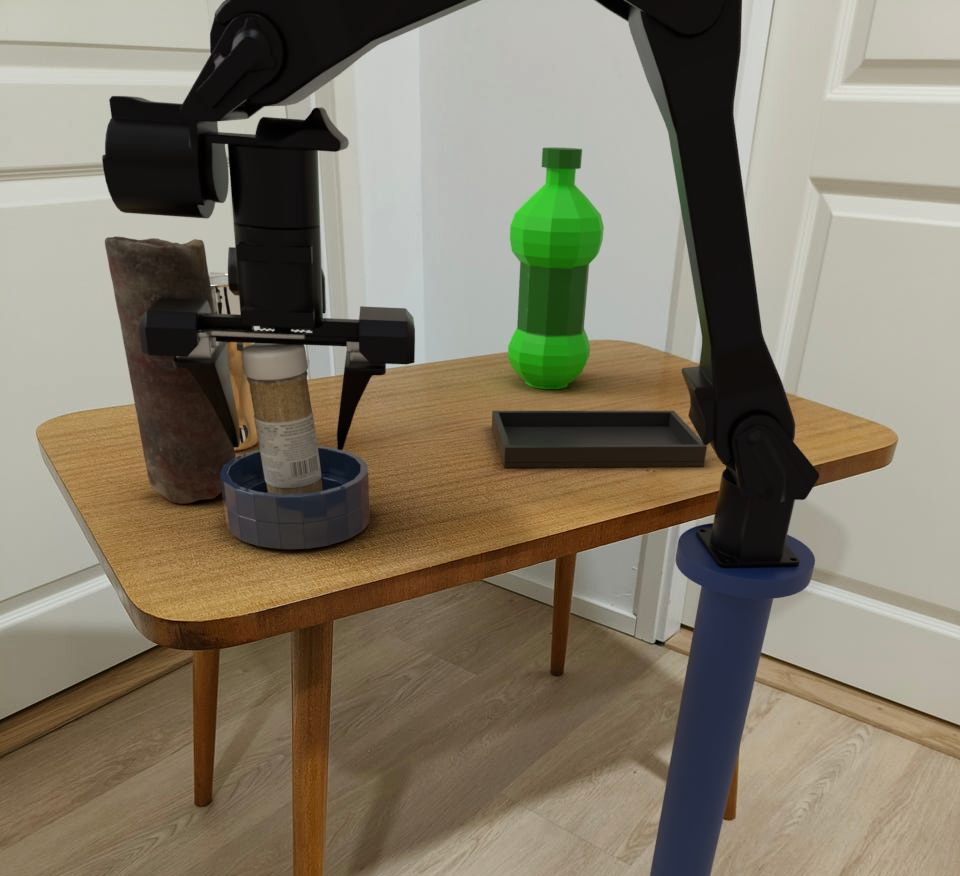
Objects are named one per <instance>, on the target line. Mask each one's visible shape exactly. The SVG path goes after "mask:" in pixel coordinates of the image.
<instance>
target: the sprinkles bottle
mask: <svg viewBox="0 0 960 876" xmlns="http://www.w3.org/2000/svg"><path fill="white" fill-rule="evenodd" d="M305 346H306V345H295V344H268V343H253V344H250V345H248V346H246V347H244V348H243V350H242V361H243V367H244V373H245V375H246V376H247V381H248V382H249V385H250V397H251V405H252V408H253V409H252V410H253V412H254V413H253V419H254V422H255V425H256V431H257V437H258V442H257V443H258V447H259V450H260V454H261V460H262V466H263V472H264V477H265V481H266V484H267V489H268V493H273V494H304V493H312V492H319V491H323V488H322V479H321V468H320V461H319V454H318V446H319V445H318V439H317V433H316V432H317V431H316V425H315V418H314V413H313V408H312V401H311V395H310V389H309V383H308V373H309V372H308V369H309V365H308V357H307V351H306V347H305Z"/></svg>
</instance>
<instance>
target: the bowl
mask: <svg viewBox="0 0 960 876" xmlns="http://www.w3.org/2000/svg"><path fill="white" fill-rule="evenodd" d="M317 446H318V454H319V461H320V468H321V479H322V488H323V491H319V492H312V493H304V494H273V493H268V489H267V484H266V481H265V477H264V472H263V466H262V460H261V454H260V449H255V450H251V451H247V452H245V453H243V454H240V455H237V456H235V458H233V459H232V460H230V461H229V462H228V463H226V464H225V465H224V466H223V468H222V470H221V473H220V480H221V488H222V492H221V495H222V502H223V510H224V518H225V525H226V527H227V529H228V531H229V533H230V534H231V535H232V536H234V537H236V538H237V539H238V540H240V541H242V542H244V543H246V544H251V545H254V546H257V547H261V548H267V549H268V548H269V549H277V550H309V549H315V548H323V547H328V546H332V545H334V544H337V543H341V542H344V541H348V540H350V539H352V538H353V537H355V536H357V535H358V534H360V533H362V532H363V531H364V530H365V528H366V527H368V525H369V524H370V523H371V504H370V502H371V501H370V477H369V474H370V473H369V465H368V463H367V462H366V461H365V460H364V459H363V457H361V456H359V455H357V454H355V453H353V452H351V451H348V450H345V449H343V450H338V449H337V448H336V447H333V446H324V445H317Z"/></svg>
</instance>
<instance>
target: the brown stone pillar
mask: <svg viewBox="0 0 960 876" xmlns="http://www.w3.org/2000/svg"><path fill="white" fill-rule="evenodd" d="M104 247H105V251H106V257H107V262H108V268H109V273H110V279H111V282H112V288H113V293H114V294H113V295H114V299H115V300H114V301H115V305H116V310H117V315H118V319H119V324H120V330H121V336H122V341H123V347H124V351H125V357H126V363H127V368H128V374H129V379H130V386H131V390H132V391H131V392H132V396H133V403H134V407H135V412H136V418H137V424H138V429H139V430H138V431H139V435H140V441H141V447H142V453H143V457H144V458H143V459H144V462H145V467H146V471H147V472H146V473H147V477H148V481H149V485H150V486H151V489H152V490H154V491H155V492H157V493H158V494H159V495H161V496H163V497H164V498H166V499H167V500H168V501H169V502H170V503H171V502H172V503H175V504H180V505H181V504H182V505H183V504H192V503H195V502H197V501H202V500H203V501H204V500H210V499H215V498H217V497H218V496H219V495H220V494H222V488H221V480H220V473H221V470H222V468H223V466H224V465H225V464H226V463H228V462H229V461H230V460H232V459H233V458H235V457H236V451H235V449H234V447H233V446H232V444H231V442H230V440H229V438H228V436H227V434H226V432H225V430H224V428H223V427H222V425H221V423H220V421H219V419H218V417H217V415H216V413H215V411H214V409H213V407H212V405H211V404H210V402H209V400H208V399H207V397H206V396H205V394H204V393H203V391H202V390H201V388H200V387H199V385H198V384H197V383H196V381H195V380H194V378H193V377H192V375H191V374H190V372H189V371H188V370H187V369H179V368H175V367H174V364H173V359H174V358H175V356H156V355H147V354H144V353H142V348H141V341H140V334H139V320H140V317H141V316H142V315H143V314H144V313H145V311H146V310H147V309H148V308H150V307H151V306H152V305H153V304H154V303H155V302H156V301H157V300H158V299H159V298H177V299H200V300H208V303H209V306H210V309H211V313H212V314H214V309H213V300H212V292H211V285H210V279H209V274H208V272H209V268H208V262H207V255H206V254H207V253H206V247H205V243H204V241H203V240H202V239H197V238H194V239H192V240H190V241H188V242H185V243H179V242H171V241H169V240H165V239H160V238H154V237H153V238H146V239H136V238H129V237H124V236H116V235H115V236H110V237H106V238H105V239H104Z"/></svg>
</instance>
